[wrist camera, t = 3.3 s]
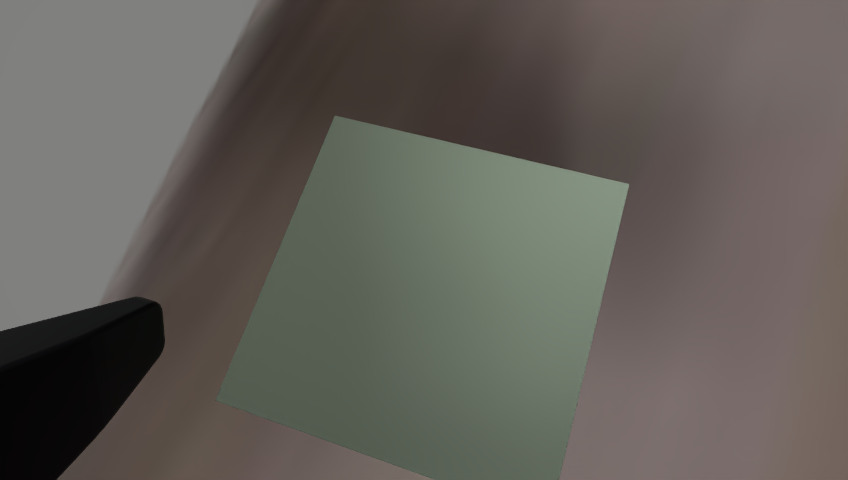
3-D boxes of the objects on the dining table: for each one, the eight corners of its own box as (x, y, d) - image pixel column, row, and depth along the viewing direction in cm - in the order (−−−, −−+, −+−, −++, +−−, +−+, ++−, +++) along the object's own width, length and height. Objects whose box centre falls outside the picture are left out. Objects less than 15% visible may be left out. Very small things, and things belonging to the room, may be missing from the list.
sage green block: (516, 480, 17) (549, 520, 7) (373, 430, 18) (215, 400, 8) (554, 333, 18) (628, 184, 8) (419, 294, 19) (334, 115, 9)
